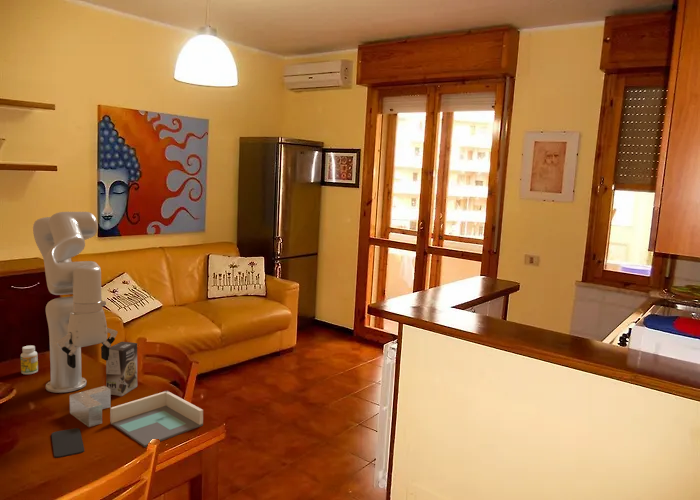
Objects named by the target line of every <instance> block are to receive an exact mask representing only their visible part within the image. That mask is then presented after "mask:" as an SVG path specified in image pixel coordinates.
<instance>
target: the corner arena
mask: <svg viewBox="0 0 700 500" xmlns="http://www.w3.org/2000/svg"><path fill="white" fill-rule="evenodd" d="M109 411H110V412H109V419H110V420H109V421H110V425H112V426H113V427H114V428H116V429H117V430H119V431H121V432H122V433H124V434H125V435H126V436H128V437H129V438H131V439H132V440H134V441H135V442H136V443H138V444H140V445H141V446H142V447H144V448H147V447H148V446H147V445H148V443H149V442H150V441H151V440H152V439H159V440H160V442H162V441H165V440H167V439H170V438H173V437H176V436H178V435H182V434H185V433H187V432H189V431H191V430H194V429H197V428H199V427H202V426H203V425H204V409H202V408H201V407H199V406H196V405H195V404H193V403H191V402H189V401H187V400H185V399H183V398H182V397H180V396H178V395H176V394H174V393H172V392H170V391H169V390H164V391H162V392H159V393H158V392H157V393H154V394H152V395H148V396H145V397H141V398H139V399H135V400H132V401H129V402H125V403H122V404H118V405H116V406H112V407H109Z"/></svg>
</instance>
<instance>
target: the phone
mask: <svg viewBox="0 0 700 500" xmlns="http://www.w3.org/2000/svg"><path fill="white" fill-rule="evenodd" d="M50 435H51V444H52V452H53V457H54V458H55V459H58V458H59V459H60V458H64V457H68V456H73V455H79V454H82V453H84V452H85V446H84V442H83V437H82V433H81V429H80V428H78V427H74V428H68V429H63V430H57V431H54V432H51V434H50Z"/></svg>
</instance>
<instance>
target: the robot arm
mask: <svg viewBox="0 0 700 500" xmlns="http://www.w3.org/2000/svg"><path fill="white" fill-rule="evenodd" d="M32 225H33V227H32V231H33V232H32V233H33V239H34V241H35V244H36V246H37V248H38V250H39V252H40V254H41V257H42V258H43V263H44V273H45V280H46V286H47V289H48V292H49V293H50V294H52V295H55V296H63V295H72V296H64V297H56V298H54V299H51V300H50V301H48V302H47V304H45V305H46V306H45V315H46V321H47V326H48V327H47V328H48V336H49V337H48V338H49V361H50V367H49V368H50V381H48V382H47V383H46V384H45V389H46V391H47V392H49V393H50V392H51V393H55V394H57V393H59V394H63V393H70V392H71V393H72V392H75V391H78V390H81V389H83V388H85V387H86V386H87V379H86V378H85V377H82V348H85V347H89V346H94V345H98V344H99V345H100V344H101V347H100V354H101V355H100V356H101V359H102V360H104V361H107V360H108V357H109V347H111V346H112V344H113V343H114V341H115V340H116V337H117V335H118V334H119V333H118V330H115V329H112V328H109V327H108V326H107V325H108V324H107V319H106V314H105V310H104V309H103V307H104V306H107V302H106V300H102V299H103V298H102V270H101V266H100V265H99V264H98V263H97V262H96V261H92V260H90V261H89V260H88V261H87V260H86V261H85V260H84V261H72V258H74V257H75V256H76V257H77V256H78V255H79V254H81V252H84V251H83V250H84V249H85V247H86V241H87V240H89V239H91V238H94V237H95V236H96V235H97V233H98V229H99V224H98V220H97V218H96V216H95V214H93V213H91V212H89V211H59V212H56V213H54V214H52V215H51V216H49V217H48V216H45V217H42V218H38V219H37V220H35V221H34V223H33V224H32ZM85 240H86V241H85ZM108 333H109V334H110V336H109V337H108Z"/></svg>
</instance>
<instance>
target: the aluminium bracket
mask: <svg viewBox="0 0 700 500" xmlns="http://www.w3.org/2000/svg"><path fill="white" fill-rule="evenodd" d="M111 397H112V396H111V389H109V388H108V387H106V385H103V386H98V387H94V388H91V389H86V390H83V391H81V392H76V393H72V394H69V414H70V415H71V416H73V417H74V418H76V419H77V420H78V421H79V422H81V423H82V424H84V425H85V426H86V427H88V428H91V427H94V426H97V425H100V424H103V410H105V409H108V408H109V409H110V408H111V406H112V405H111V404H112V403H111V400H112V399H111Z"/></svg>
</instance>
